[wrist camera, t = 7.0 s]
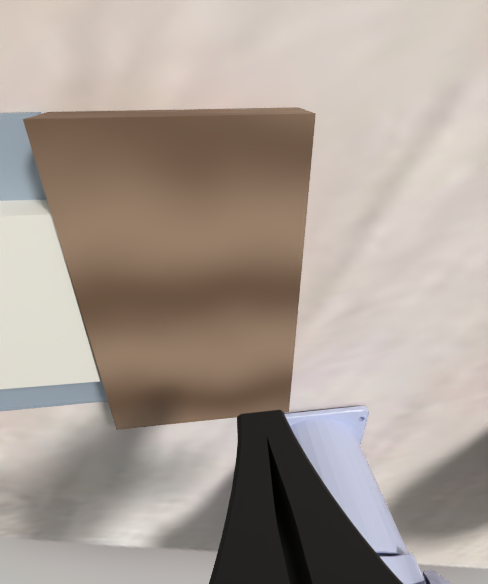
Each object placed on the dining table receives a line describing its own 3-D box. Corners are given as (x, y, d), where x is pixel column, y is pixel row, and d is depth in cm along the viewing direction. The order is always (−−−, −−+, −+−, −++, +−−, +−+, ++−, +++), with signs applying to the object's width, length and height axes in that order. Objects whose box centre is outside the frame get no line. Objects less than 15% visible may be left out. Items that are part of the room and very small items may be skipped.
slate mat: (119, 396, 22) (118, 400, 22) (-20, 409, 22) (-23, 413, 21) (40, 112, 14) (37, 113, 14) (-193, 116, 13) (-201, 117, 13)
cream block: (107, 355, 20) (99, 381, 18) (-6, 363, 20) (-24, 391, 18) (67, 199, 15) (51, 214, 14) (-84, 202, 15) (-119, 219, 13)
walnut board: (280, 381, 23) (288, 411, 21) (124, 395, 22) (116, 429, 20) (298, 107, 15) (315, 113, 13) (48, 112, 14) (23, 119, 12)
